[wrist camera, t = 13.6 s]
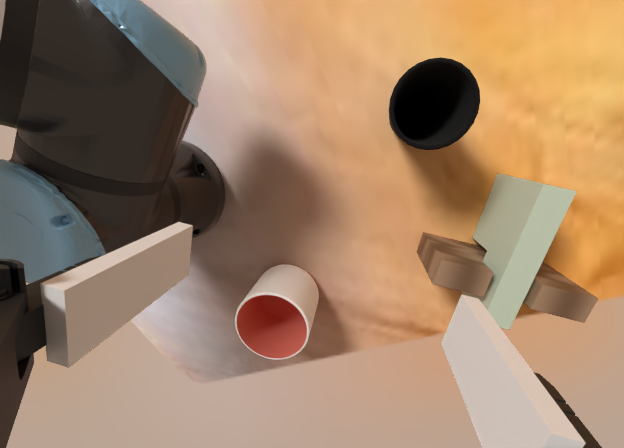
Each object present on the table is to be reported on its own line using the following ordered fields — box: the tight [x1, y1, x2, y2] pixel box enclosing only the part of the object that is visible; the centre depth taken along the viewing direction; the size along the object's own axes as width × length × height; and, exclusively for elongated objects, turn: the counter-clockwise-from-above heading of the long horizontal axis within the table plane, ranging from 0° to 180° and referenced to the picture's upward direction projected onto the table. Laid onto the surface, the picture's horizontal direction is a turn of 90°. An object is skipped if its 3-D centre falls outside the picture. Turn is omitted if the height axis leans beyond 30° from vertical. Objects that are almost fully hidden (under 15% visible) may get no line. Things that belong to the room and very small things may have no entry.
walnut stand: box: [417, 232, 598, 322], centre depth 36 cm, size 16×3×10 cm, turn 78°
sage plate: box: [461, 173, 576, 330], centre depth 35 cm, size 16×3×10 cm, turn 168°
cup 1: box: [235, 264, 319, 360], centre depth 43 cm, size 10×10×10 cm
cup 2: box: [389, 58, 480, 150], centre depth 32 cm, size 8×8×12 cm
